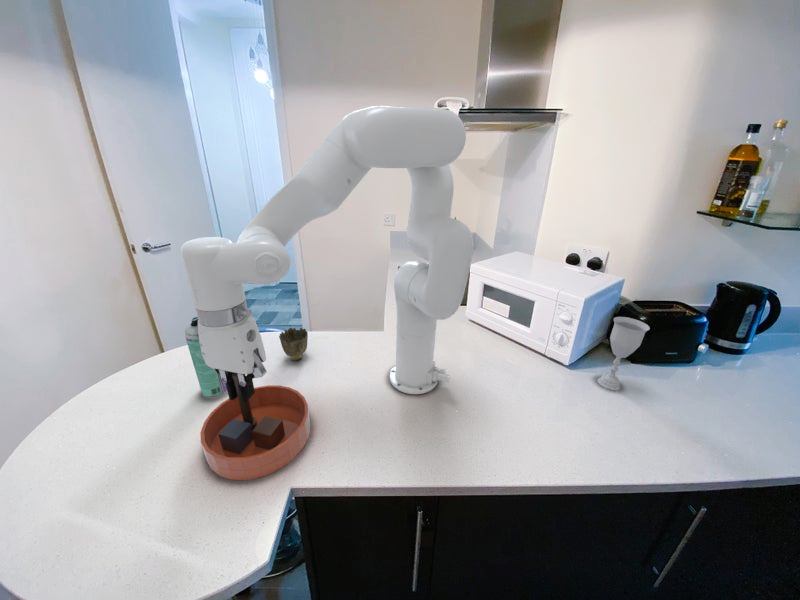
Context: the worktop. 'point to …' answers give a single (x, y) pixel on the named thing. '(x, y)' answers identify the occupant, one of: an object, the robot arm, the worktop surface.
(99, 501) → the worktop surface
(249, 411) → the muddler
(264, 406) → the bowl
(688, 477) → the worktop surface
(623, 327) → the chalice
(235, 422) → the slate block
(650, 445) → the worktop surface
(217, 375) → the spray can
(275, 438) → the walnut block
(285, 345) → the cup
